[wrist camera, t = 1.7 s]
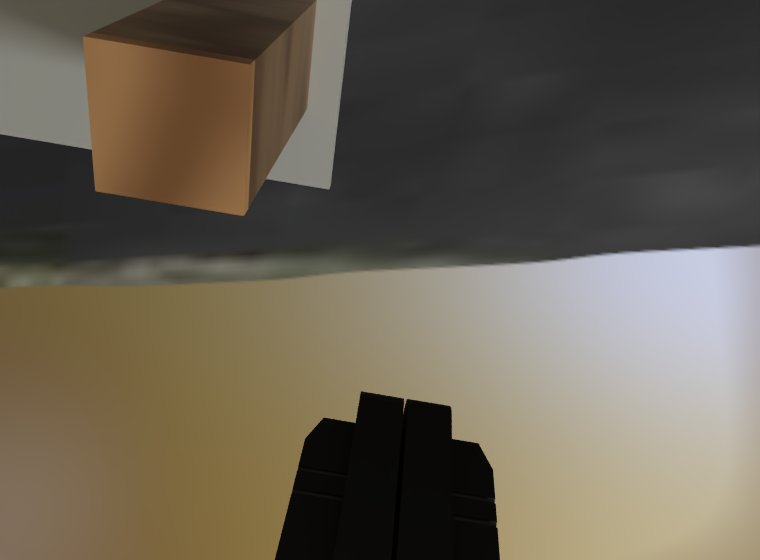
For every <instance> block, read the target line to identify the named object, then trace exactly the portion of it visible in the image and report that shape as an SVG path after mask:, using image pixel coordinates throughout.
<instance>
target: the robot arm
mask: <svg viewBox="0 0 760 560" xmlns="http://www.w3.org/2000/svg"><path fill="white" fill-rule="evenodd" d="M403 407H404V399H402V398H397V397H391V396H385V395H380V394H373V393H367V392H361V394H360V401H359V406H358V412H357V418H356V423H352V422H346V421H341V420H335V419H329V418H323V420H321V421H320V423H319V424H318V425H317V426H316V427H315V428H314V429H313V430H312V432H311V433H310V434H309V435H308V436H307V437H306V439H305V442H304V446H303V450H302V454H301V458H300V462H299V466H298V471H297V474H296V478H295V482H294V486H293V491H292V494H291V497H290V501H289V505H288V510H287V514H286V517H285V522H284V526H283V529H282V533H281V538H280V541H279V545H278V550H277V553H276V558H275V560H500V556H499V543H498V529H497V528H496V523H497V517H496V504H495V503H494V502H495V492H494V477H493V469H492V467H491V466H490V464H489V462H488V460H487V458H486V456H485V455H484V453H483V451H482V449H481V447H480V446H479V444H478V443H473V442H467V441H460V440H455V439H452V413H451V407H450V406H446V405H440V404H434V403H428V402H422V401H416V400H410V399H407V401H406V404H405V408H404V413H403Z"/></svg>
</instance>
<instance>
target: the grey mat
mask: <svg viewBox="0 0 760 560" xmlns="http://www.w3.org/2000/svg"><path fill="white" fill-rule="evenodd" d="M160 1H163V0H0V134H3V135H9V136H15V137H21V138H27V139H33V140H39V141H45V142H51V143H57V144H63V145H69V146H75V147H80V148H86V149H92V144H91V132H90V120H89V108H88V96H87V84H86V71H85V59H84V47H83V36H84V35H87V34H89V33H91V32H93V31H96V30H98V29H100V28H102V27H105V26H107V25H109V24H111V23H113V22H116V21H118V20H120V19H122V18H125V17H127V16H129V15H131V14H134V13H136V12H138V11H140V10H143V9H145V8H147V7H149V6H151V5H154V4H156V3H158V2H160ZM351 2H352V0H317V4H316V15H315V26H314V37H313V49H312V60H311V71H310V82H309V93H308V105H307V110H306V112H305V113H304V115H303V117H302V118H301V120H300V122H299V123H298V125H297V127H296V129H295V130H294V132H293V134H292V135H291V137H290V139H289V140H288V142H287V144H286V145H285V147H284V149H283V150H282V152H281V154H280V156H279V157H278V159H277V161H276V162H275V164H274V166H273V167H272V169H271V171H270V172H269V174H268V176H267V177H266V179H270V180H276V181H282V182H288V183H294V184H300V185H306V186H312V187H318V188H324V189H329V188H330V186H331V177H332V168H333V159H334V151H335V142H336V133H337V124H338V116H339V107H340V98H341V90H342V81H343V72H344V63H345V55H346V46H347V37H348V29H349V20H350V11H351Z"/></svg>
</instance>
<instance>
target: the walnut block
mask: <svg viewBox="0 0 760 560" xmlns="http://www.w3.org/2000/svg"><path fill="white" fill-rule="evenodd" d="M316 4H317V0H163V1H160V2H158V3H156V4H154V5H151V6H149V7H147V8H145V9H143V10H140V11H138V12H136V13H134V14H131V15H129V16H127V17H125V18H122V19H120V20H118V21H116V22H113V23H111V24H109V25H107V26H105V27H102V28H100V29H98V30H96V31H93V32H91V33H89V34H87V35H84V36H83V47H84V59H85V71H86V84H87V96H88V108H89V120H90V132H91V144H92V156H93V168H94V180H95V191H98V192H104V193H110V194H116V195H122V196H128V197H134V198H140V199H146V200H152V201H158V202H164V203H170V204H176V205H181V206H187V207H193V208H199V209H205V210H211V211H217V212H223V213H229V214H235V215H241V216H244V215H245V213H246V211H247V210H248V208H249V206H250V205H251V203H252V201H253V199H254V198H255V196H256V194H257V193H258V191H259V189H260V188H261V186H262V184H263V183H264V181H265V179H266V177H267V176H268V174H269V172H270V171H271V169H272V167H273V166H274V164H275V162H276V161H277V159H278V157H279V156H280V154H281V152H282V150H283V149H284V147H285V145H286V144H287V142H288V140H289V139H290V137H291V135H292V134H293V132H294V130H295V129H296V127H297V125H298V123H299V122H300V120H301V118H302V117H303V115H304V113H305V112H306V110H307V105H308V93H309V82H310V71H311V60H312V49H313V37H314V26H315V15H316Z"/></svg>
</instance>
